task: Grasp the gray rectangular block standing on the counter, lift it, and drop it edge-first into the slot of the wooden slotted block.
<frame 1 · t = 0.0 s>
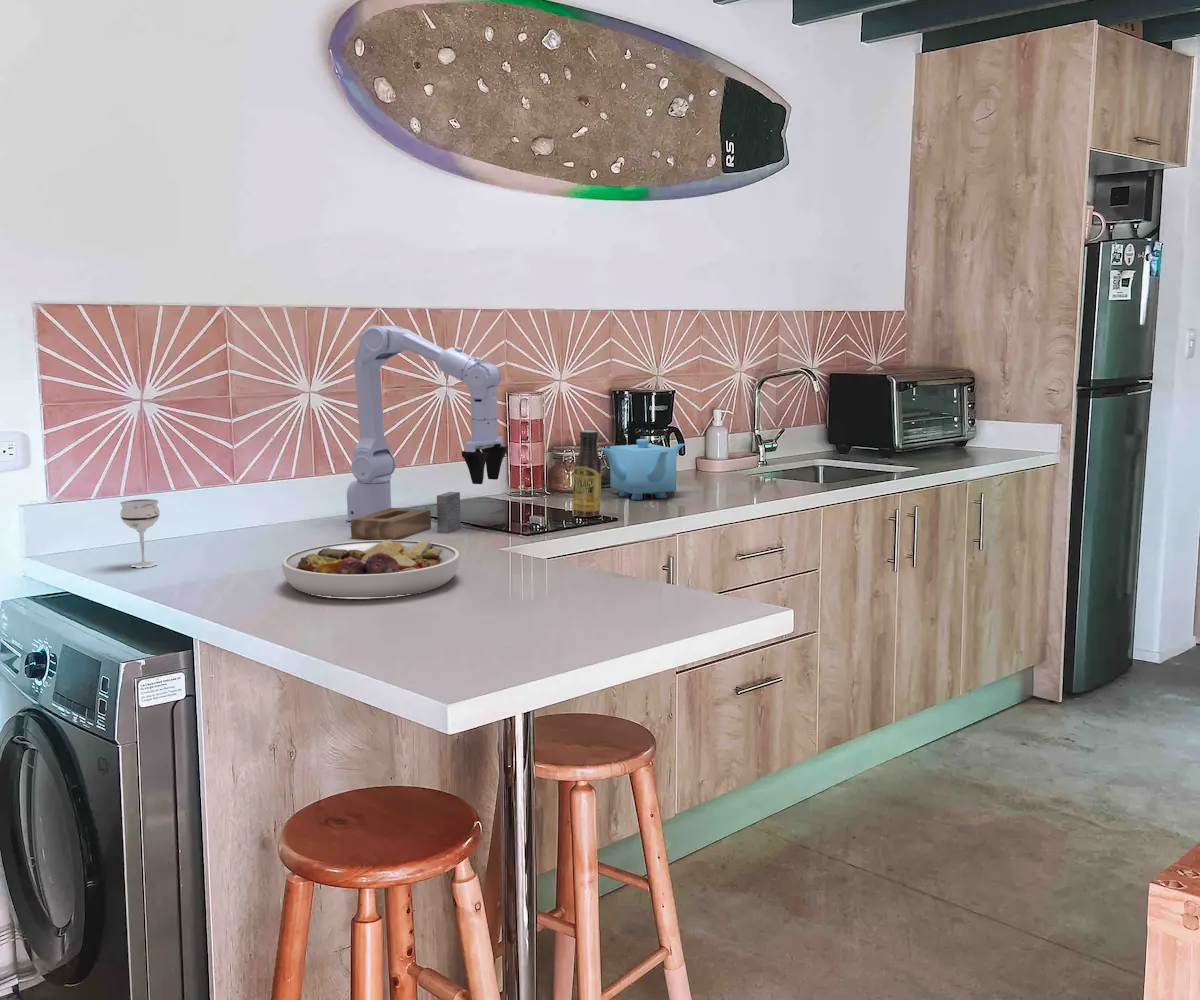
hand: (485, 481, 251), 10 cm above the countertop, fingers open, 7 cm apart
sauce bottle: (587, 517, 266), on the countertop
gray rectangular block: (449, 530, 249), on the countertop
bowl: (373, 585, 200), on the countertop
teakettle: (644, 497, 295), on the countertop
wineglass: (143, 566, 215), on the countertop
wooden slotted block: (392, 533, 246), on the countertop
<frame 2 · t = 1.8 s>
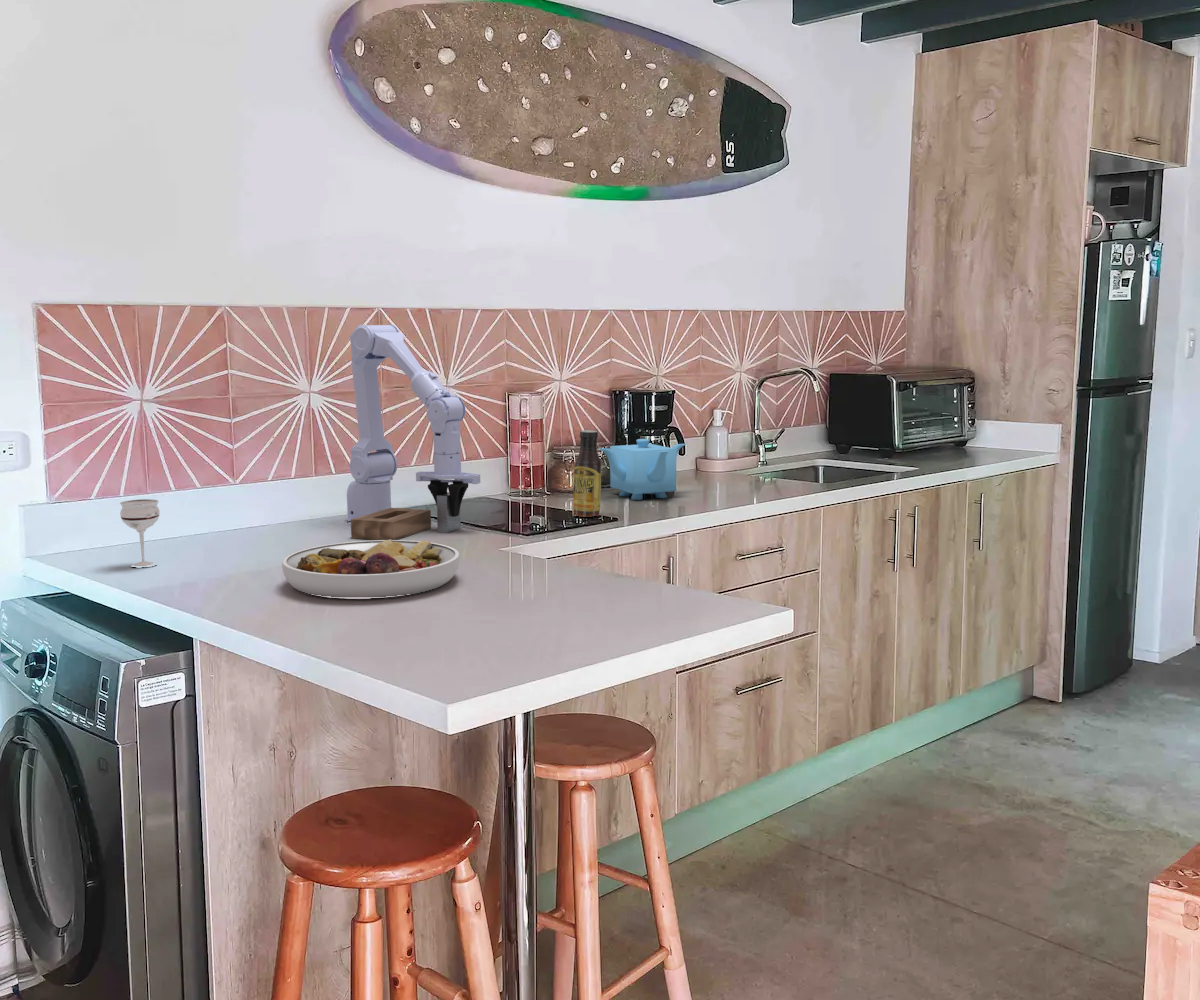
hand: (448, 515, 249), 3 cm above the countertop, fingers closed on gray rectangular block, 2 cm apart
gray rectangular block: (449, 530, 249), on the countertop, touching gripper
everything else where it was.
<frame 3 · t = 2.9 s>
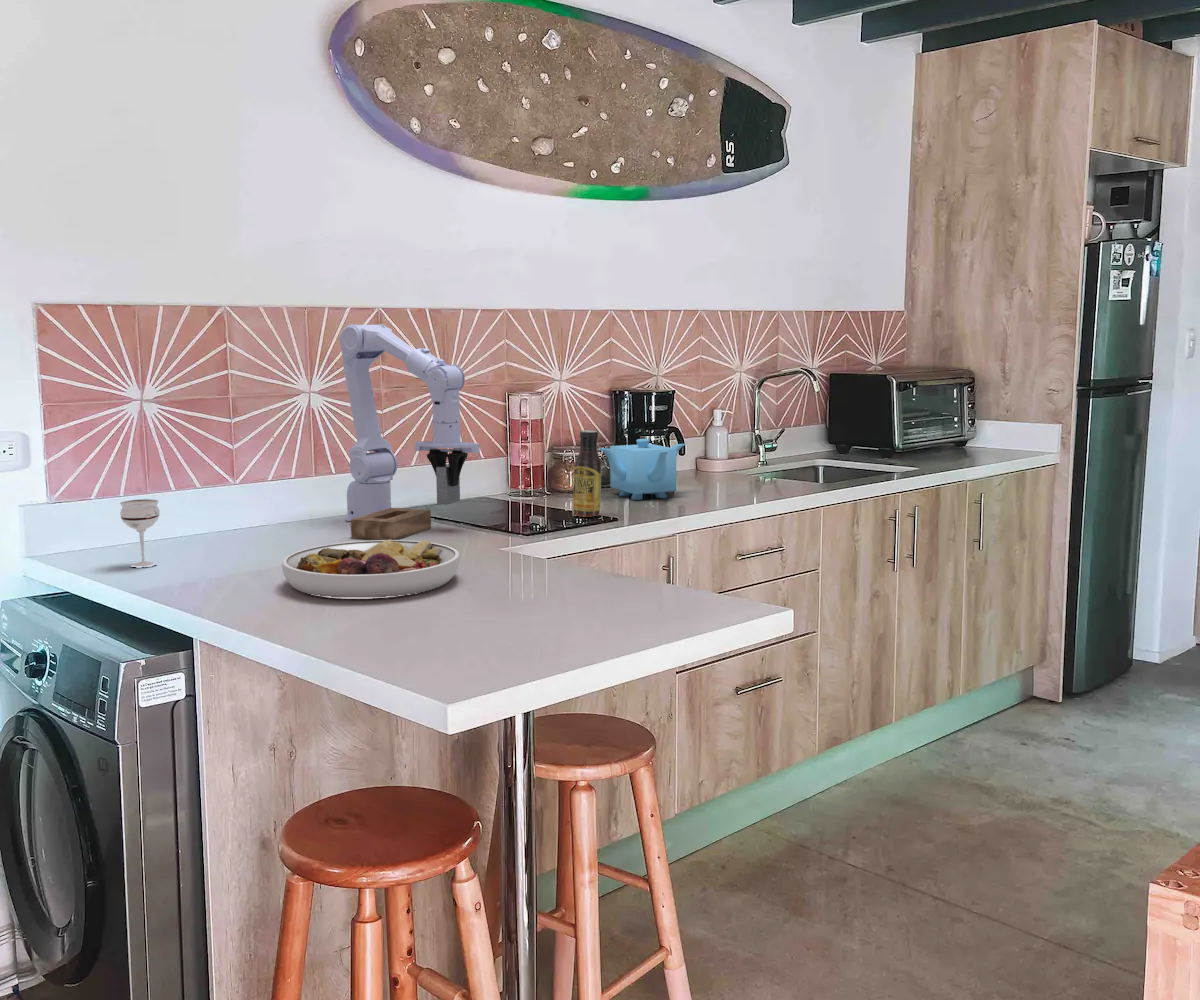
hand: (448, 485, 248), 10 cm above the countertop, fingers closed on gray rectangular block, 2 cm apart
gray rectangular block: (448, 502, 248), point 6 cm above the countertop, touching gripper
everything else where it was.
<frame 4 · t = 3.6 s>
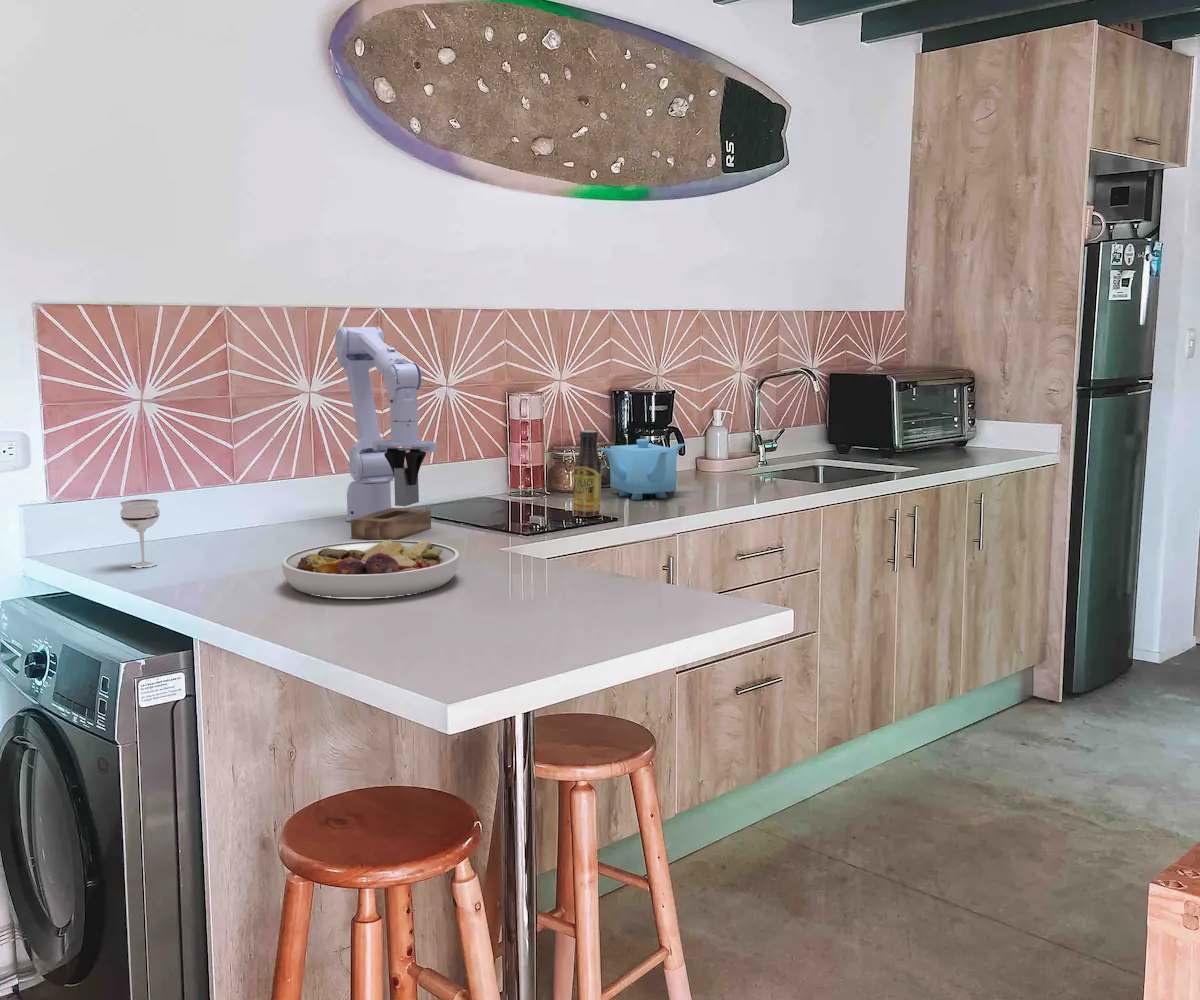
hand: (406, 484, 246), 10 cm above the countertop, fingers closed on gray rectangular block, 2 cm apart
gray rectangular block: (407, 503, 246), point 6 cm above the countertop, touching gripper
everything else where it was.
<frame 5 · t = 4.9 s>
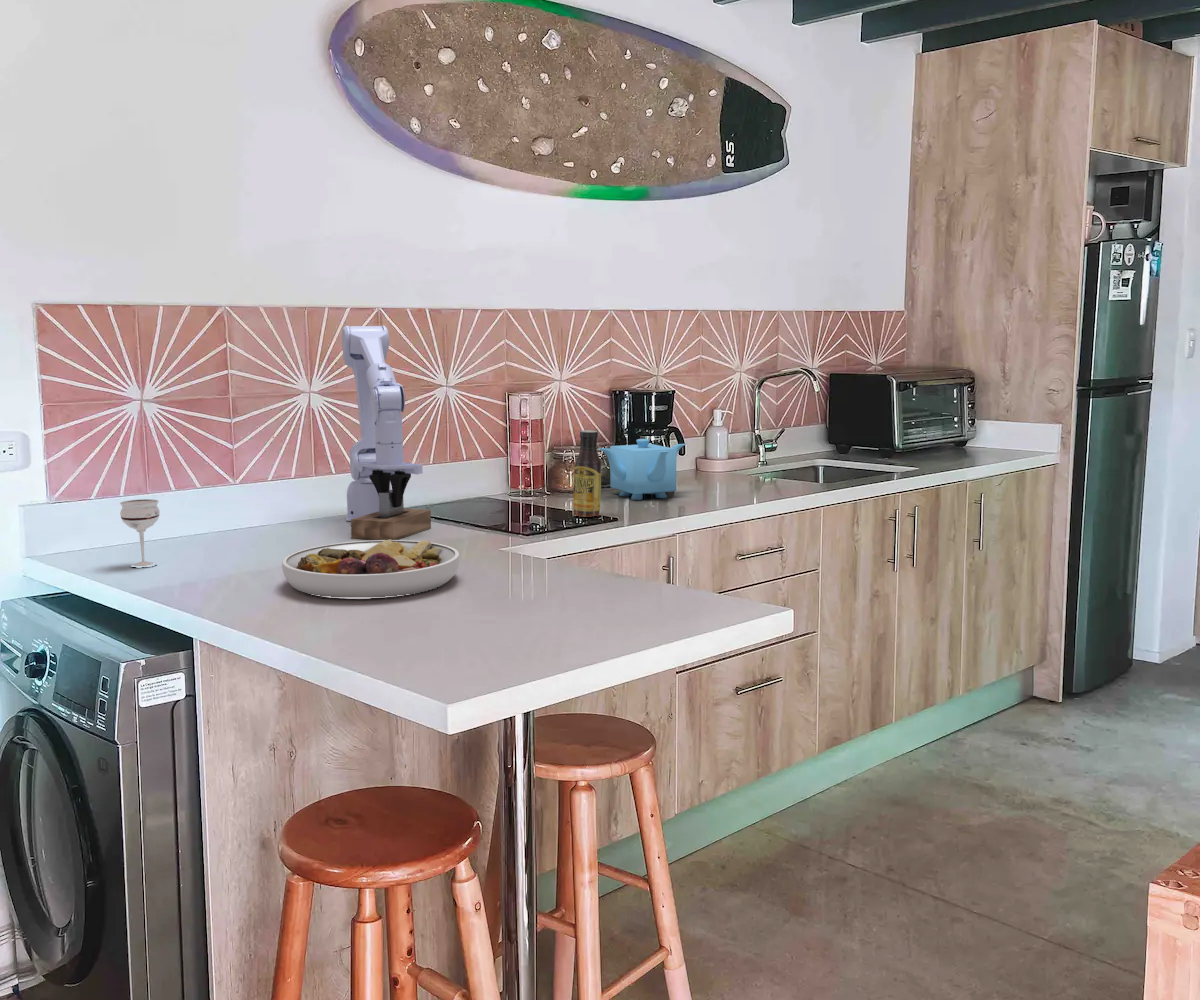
hand: (391, 506, 245), 6 cm above the countertop, fingers closed on gray rectangular block, 2 cm apart
gray rectangular block: (392, 528, 246), point 1 cm above the countertop, touching gripper
everything else where it was.
when the fingers open (5 cm above the countertop, at t = 5.5 s): gray rectangular block stays where it is, resting on wooden slotted block.
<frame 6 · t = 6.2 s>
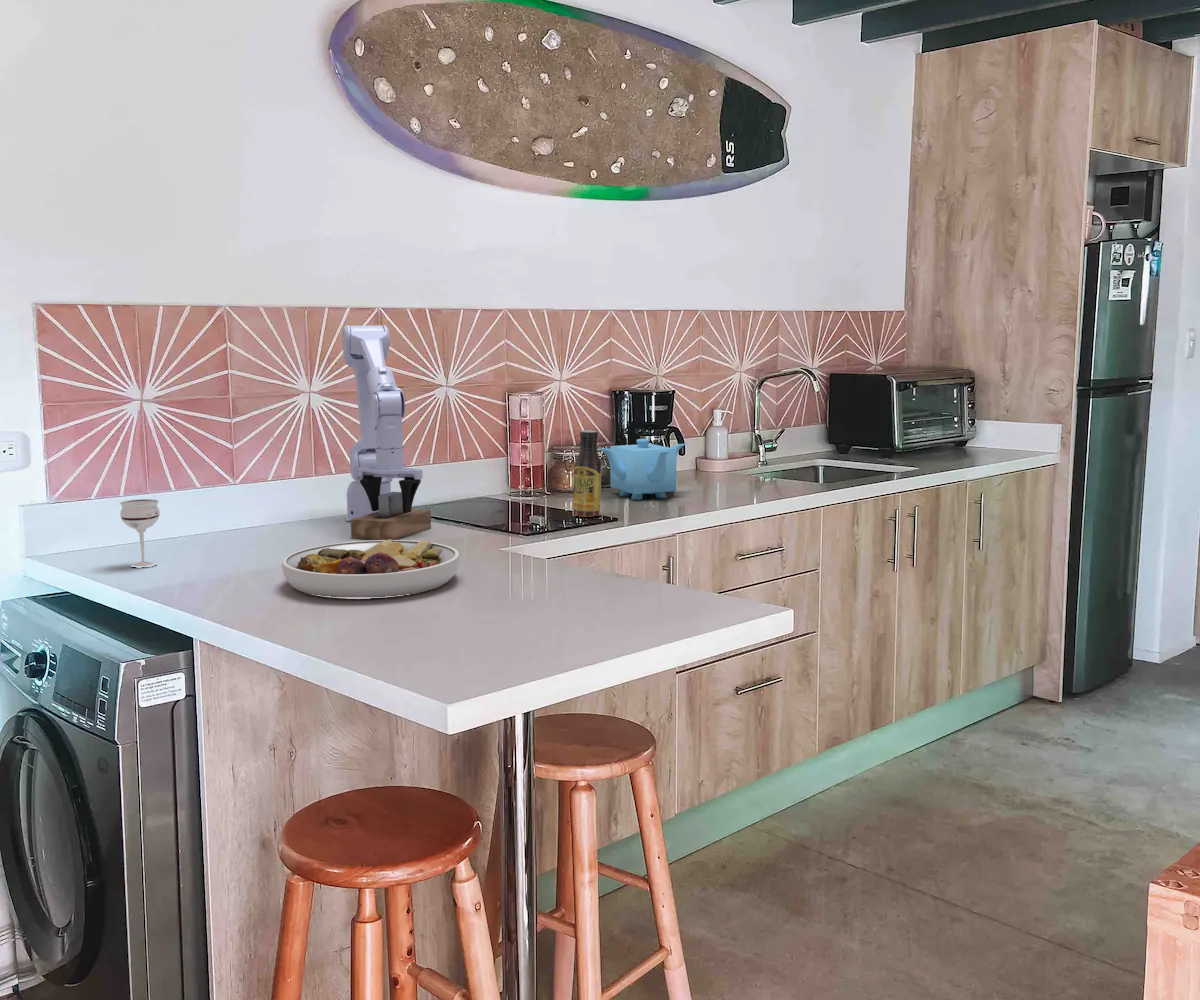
hand: (391, 511, 246), 5 cm above the countertop, fingers open, 7 cm apart
gray rectangular block: (392, 530, 246), resting on wooden slotted block
everything else where it was.
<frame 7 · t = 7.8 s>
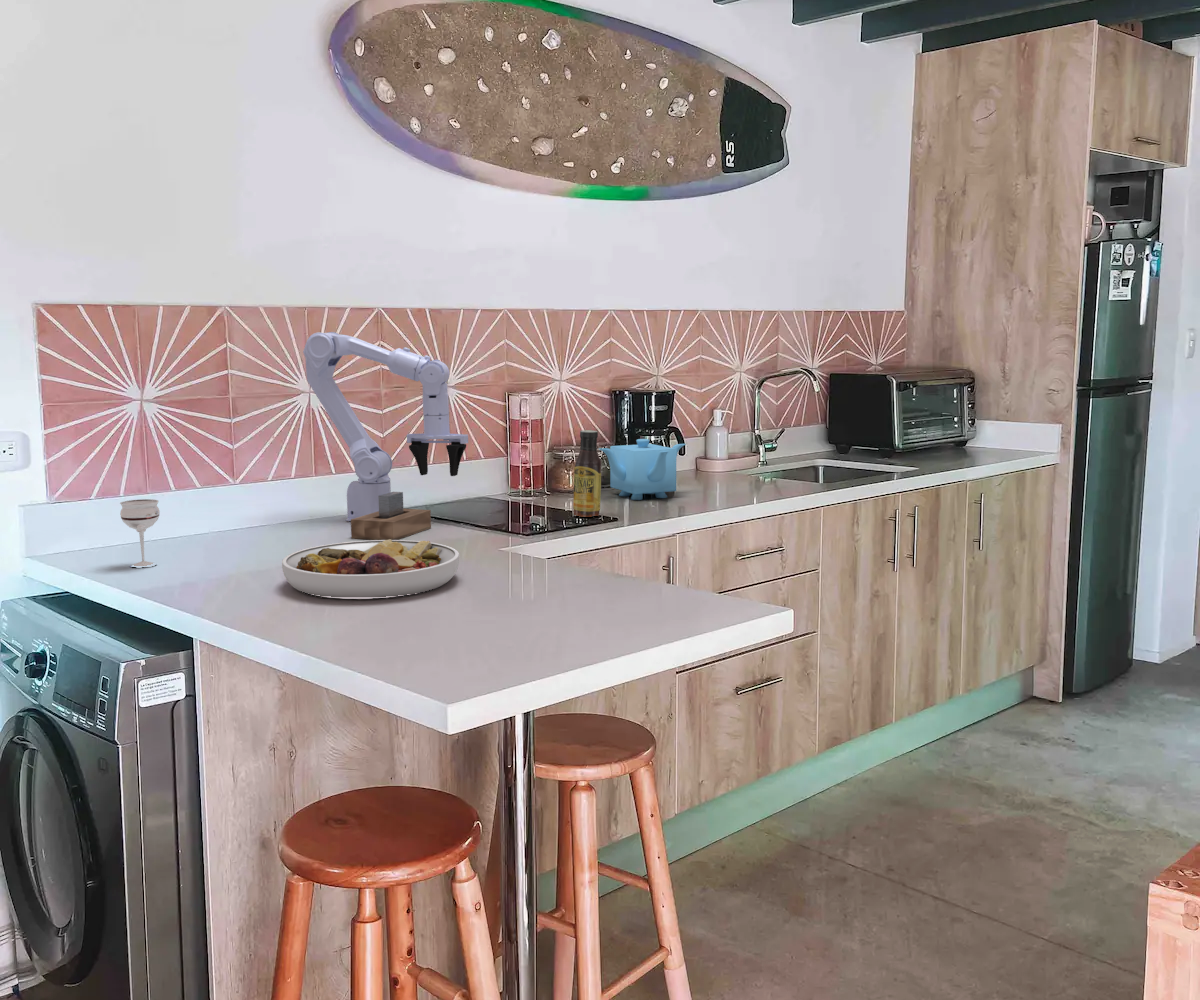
hand: (438, 475, 260), 10 cm above the countertop, fingers open, 7 cm apart
nothing on the countertop moved.
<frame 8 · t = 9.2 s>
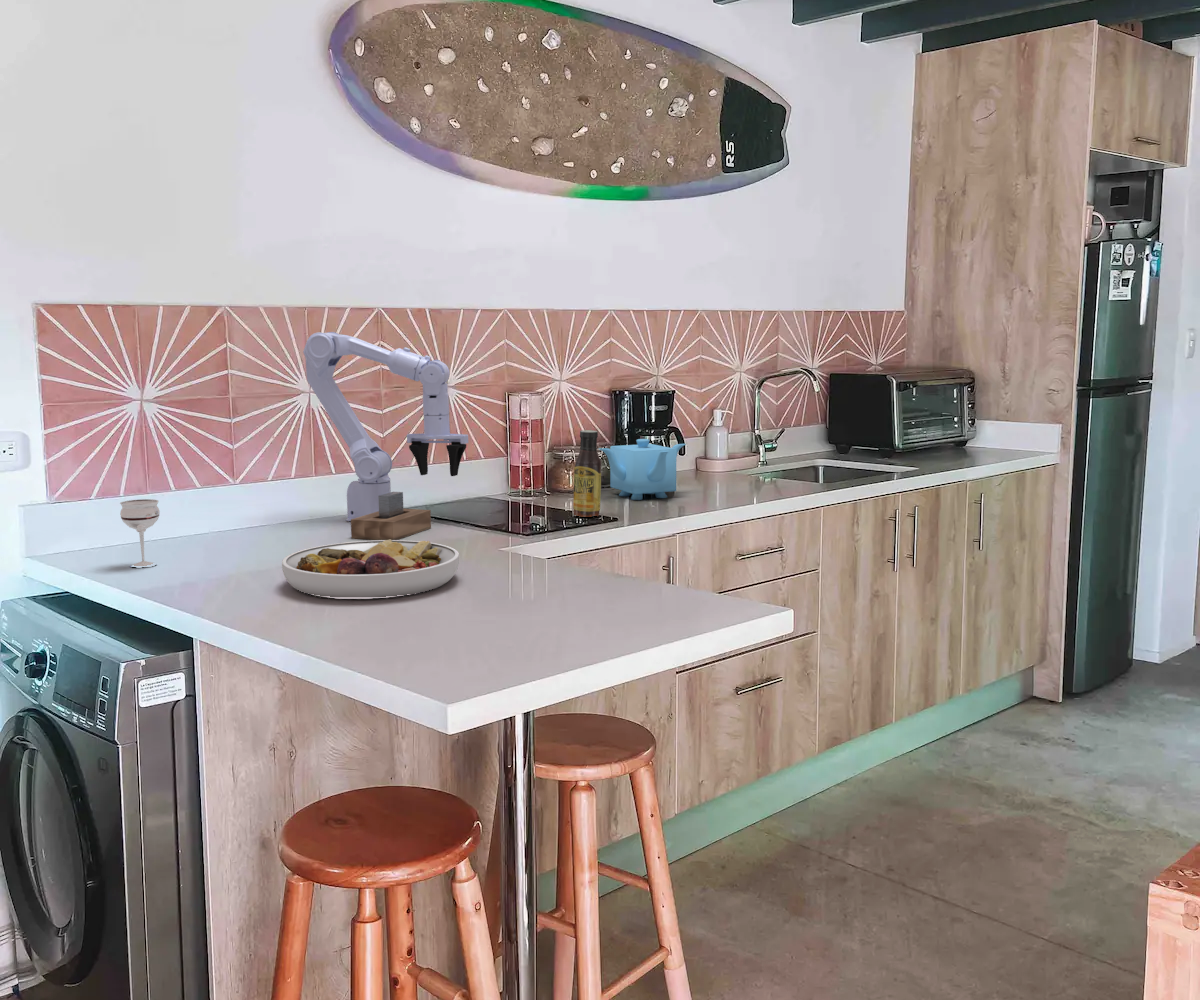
hand: (439, 475, 260), 10 cm above the countertop, fingers open, 7 cm apart
nothing on the countertop moved.
at the end: gray rectangular block 0.1 cm off-centre on the wooden slotted block, point 0.5 cm above the wooden slotted block's base; gray rectangular block tilted 0°; the gripper is holding nothing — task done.
